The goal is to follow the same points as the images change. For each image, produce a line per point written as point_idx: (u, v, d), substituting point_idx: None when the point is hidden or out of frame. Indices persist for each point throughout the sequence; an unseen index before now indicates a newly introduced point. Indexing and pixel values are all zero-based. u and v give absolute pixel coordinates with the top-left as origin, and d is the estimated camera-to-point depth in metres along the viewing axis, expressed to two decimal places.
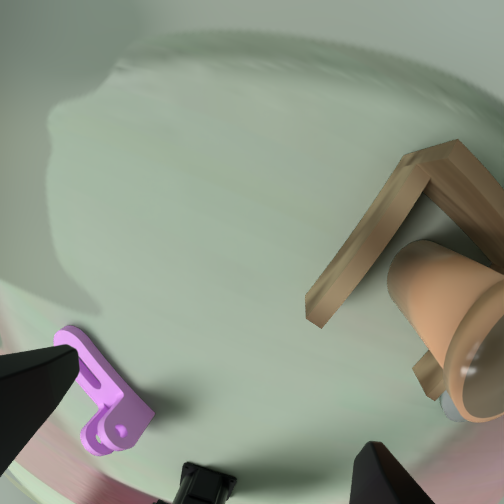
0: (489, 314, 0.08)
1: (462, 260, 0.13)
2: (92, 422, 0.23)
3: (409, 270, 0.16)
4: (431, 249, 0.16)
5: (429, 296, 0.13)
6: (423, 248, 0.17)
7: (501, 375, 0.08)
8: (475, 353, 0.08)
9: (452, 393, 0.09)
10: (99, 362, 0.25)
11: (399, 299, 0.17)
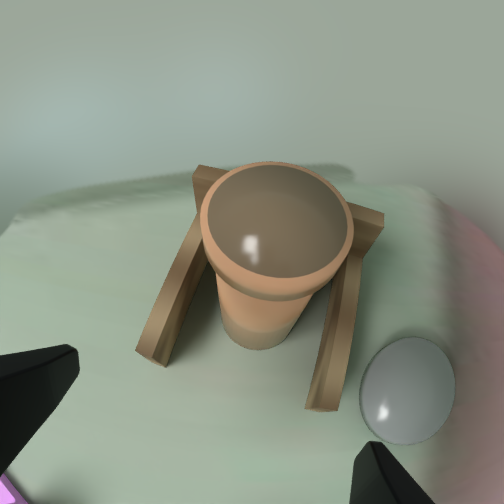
0: None
1: None
2: None
3: None
4: None
5: None
6: None
7: (265, 227, 0.12)
8: (207, 213, 0.12)
9: (218, 263, 0.11)
10: None
11: (224, 320, 0.19)
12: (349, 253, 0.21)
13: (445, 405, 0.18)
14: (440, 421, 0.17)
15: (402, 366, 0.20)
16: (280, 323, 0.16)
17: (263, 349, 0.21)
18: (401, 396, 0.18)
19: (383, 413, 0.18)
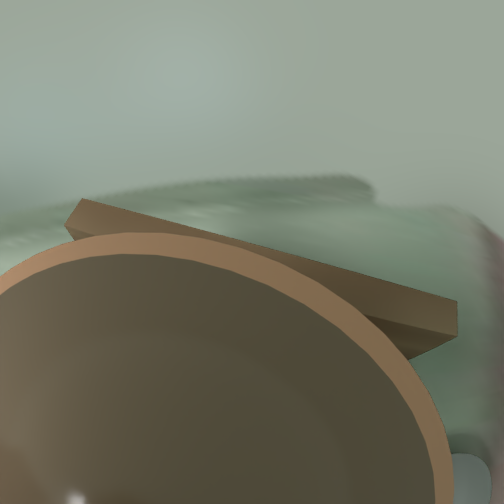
0: None
1: None
2: None
3: None
4: None
5: None
6: None
7: None
8: None
9: None
10: None
11: None
12: None
13: None
14: None
15: None
16: None
17: None
18: None
19: None
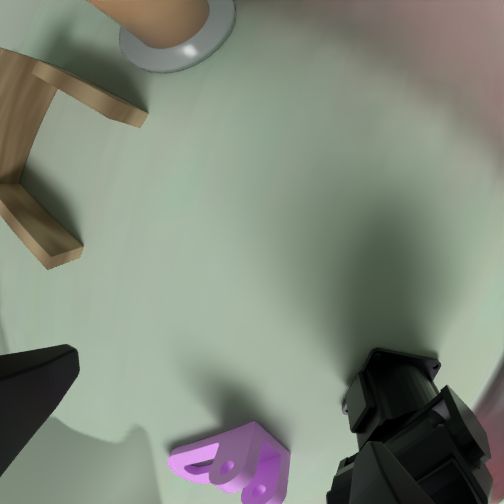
0: None
1: None
2: (244, 489, 0.20)
3: (118, 23, 0.13)
4: None
5: (88, 1, 0.09)
6: None
7: None
8: None
9: None
10: (190, 449, 0.23)
11: (142, 31, 0.13)
12: (30, 72, 0.15)
13: None
14: None
15: None
16: None
17: (201, 27, 0.15)
18: None
19: (172, 51, 0.16)
